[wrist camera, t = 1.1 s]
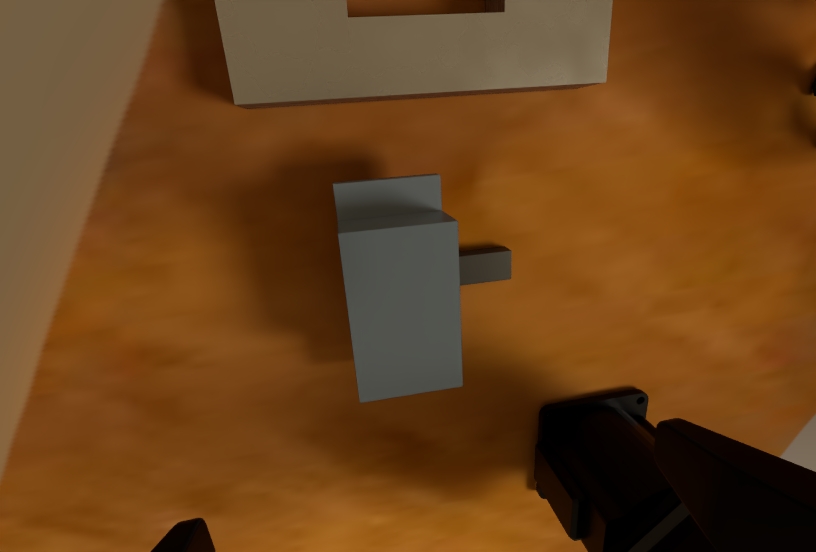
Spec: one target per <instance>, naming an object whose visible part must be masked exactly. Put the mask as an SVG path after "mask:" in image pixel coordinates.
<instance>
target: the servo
mask: <svg viewBox="0 0 816 552" xmlns="http://www.w3.org/2000/svg"><path fill="white" fill-rule="evenodd" d="M333 189H334V196H335V204H336V212H337V220H338V238H339V246H340V254H341V262H342V269H343V277H344V285H345V292H346V300H347V308H348V315H349V323H350V331H351V339H352V346H353V354H354V362H355V369H356V377H357V385H358V392H359V400H360V403H363V402H369V401H375V400H382V399H388V398H394V397H400V396H406V395H412V394H419V393H425V392H431V391H437V390H443V389H449V388H456V387H462V386H463V374H462V341H461V308H460V285H468V284H476V283H484V282H491V281H499V280H507V279H511V250H509V249H508V248H506V247H496V248H487V249H479V250H470V251H461V252H459V243H458V221H457V220H455V219H454V218H452V217H451V216H449V215H448V214H446V213H445V212H443V211H442V203H441V180H440V175H439V174H436V173H435V174H424V175H413V176H401V177H390V178H378V179H367V180H356V181H344V182H333Z"/></svg>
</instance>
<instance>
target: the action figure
mask: <svg viewBox="0 0 816 552" xmlns="http://www.w3.org/2000/svg"><path fill="white" fill-rule="evenodd" d="M812 90H813V93H814V96H816V80H815V82H814V84H813V86H812Z"/></svg>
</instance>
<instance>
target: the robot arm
mask: <svg viewBox="0 0 816 552" xmlns="http://www.w3.org/2000/svg"><path fill="white" fill-rule="evenodd" d="M647 405H648V396H647V394H646V393H644V392H643V391H642V390H640V389H636V390H630V391H624V392H618V393H613V394H607V395H601V396H595V397H590V398H584V399H578V400H572V401H567V402H561V403H555V404H549V405H546V406H544V407H543V408H542V409H541V410H540V413H539V434H538V441H537V444H536V446H535V470H534V478H535V480H536V490H537V492H538V494H539V496H540V497H541V498H543V499H547V501H548V502H549V504H550V506H551V507H552V509H553V511H554V512H555V514H556V516H557V518H558V519H559V521H560V523H561V524H562V526H563V528H564V529H565V531H566V533H567V534H568V536H569V537H570V538H571V539H572V540H574V541H577V540H581V541H582V543H583V544H584V546H585V548H586V549H587V551H588V552H816V472H814V471H812V470H809V469H807V468H804V467H802V466H799V465H797V464H794V463H792V462H789V461H787V460H784V459H781V458H779V457H777V456H774V455H772V454H769V453H766V452H764V451H761V450H759V449H756V448H754V447H751V446H749V445H746V444H744V443H741V442H739V441H736V440H734V439H731V438H729V437H726V436H724V435H721V434H718V433H716V432H713V431H711V430H708V429H706V428H703V427H701V426H698V425H696V424H693V423H691V422H688V421H686V420H683V419H680V418H673V419H669V420H664V421H660V422H659V423H658V424H657V427H656V428H655V427H654V426H653V425H652V424H651V423H649V422H648V421H647V420H646V412H647ZM550 413H551V414H550ZM548 414H550V415H549V416H547V415H548ZM151 552H215V548H214V545H213V542H212V539H211V536H210V533H209V531H208V528H207V525H206V523H205V521H204V520H203V519H202V518H195V519H191V520H186V521H181V522H179V523H177V524H176V525H175V526H174V527H173V528H172V529H171V530H170V531H169V532H168V533H167V534H166V535H165V536H164V538H163V539H162V540H161V541H160V542H159V543H158V544H157V545H156V546H155V547H154V548H153V550H152V551H151Z"/></svg>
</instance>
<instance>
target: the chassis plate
mask: <svg viewBox="0 0 816 552" xmlns="http://www.w3.org/2000/svg"><path fill="white" fill-rule="evenodd" d="M612 3H613V0H485V13H466V14H436V15H407V16H377V17H348V12H347V3H346V0H215V6H216V11H217V16H218V21H219V26H220V31H221V36H222V42H223V47H224V52H225V57H226V62H227V67H228V72H229V78H230V83H231V88H232V93H233V98H234V103H235V105H237V106H240V107H242V108H245V109H257V108H273V107H289V106H305V105H321V104H337V103H354V102H370V101H386V100H402V99H418V98H434V97H450V96H467V95H483V94H499V93H515V92H531V91H547V90H563V89H578V88H583V87H587V86H592V85H596V84H601V83H605V82H606V77H607V65H608V52H609V40H610V28H611V15H612Z"/></svg>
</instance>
